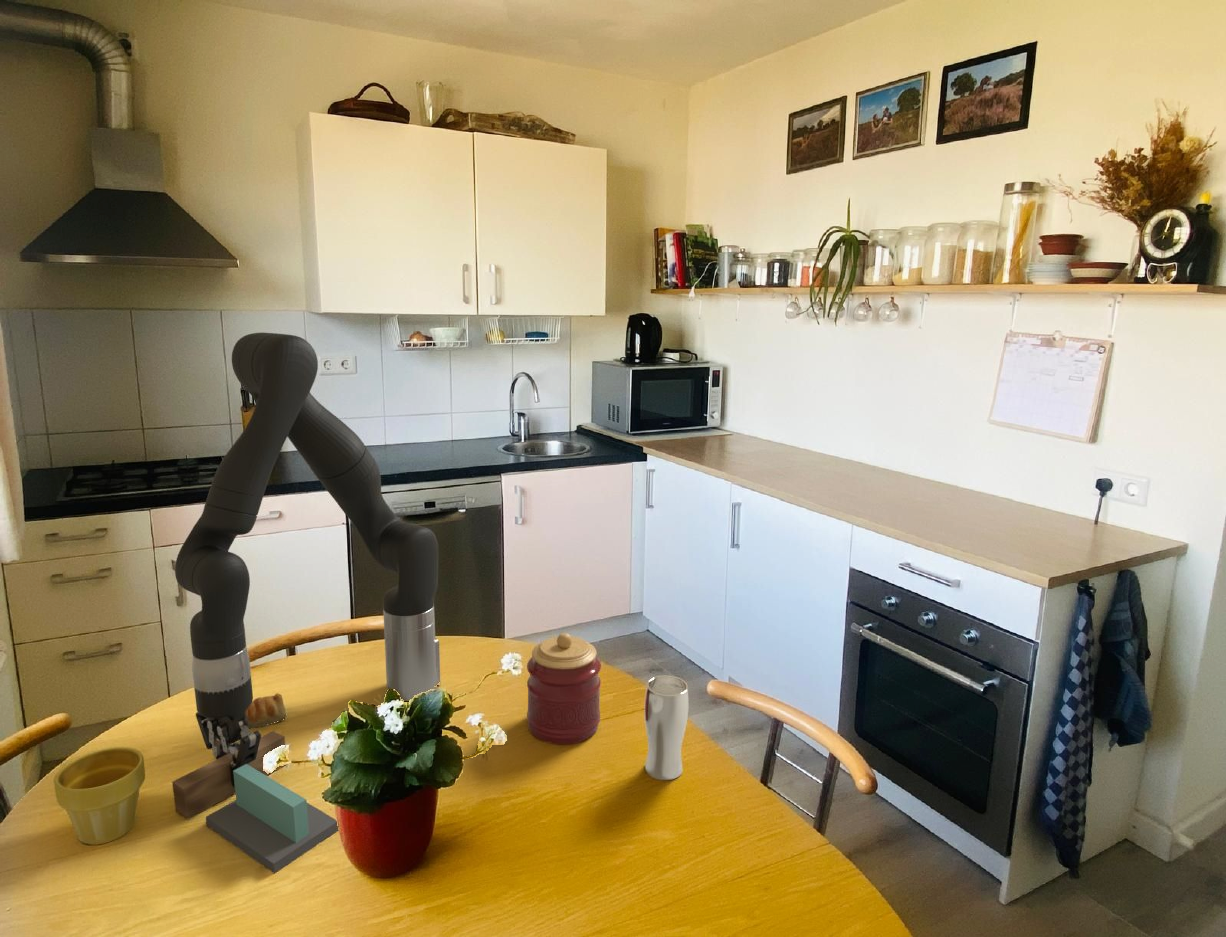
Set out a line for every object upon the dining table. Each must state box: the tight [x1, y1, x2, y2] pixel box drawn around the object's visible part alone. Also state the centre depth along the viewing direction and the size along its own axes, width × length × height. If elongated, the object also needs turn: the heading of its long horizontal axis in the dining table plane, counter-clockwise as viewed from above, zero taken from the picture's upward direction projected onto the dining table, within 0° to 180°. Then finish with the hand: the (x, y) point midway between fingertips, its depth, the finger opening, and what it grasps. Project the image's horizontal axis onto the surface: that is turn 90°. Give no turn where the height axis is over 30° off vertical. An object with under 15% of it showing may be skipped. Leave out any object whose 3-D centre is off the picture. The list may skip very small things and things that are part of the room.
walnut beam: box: [171, 730, 286, 821], centre depth 116 cm, size 16×3×5 cm, turn 147°
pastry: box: [245, 692, 287, 729], centre depth 134 cm, size 9×7×4 cm
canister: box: [526, 632, 602, 745], centre depth 133 cm, size 13×13×18 cm
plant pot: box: [53, 746, 146, 846], centre depth 106 cm, size 10×10×10 cm
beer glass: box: [644, 674, 689, 781], centre depth 122 cm, size 7×7×15 cm
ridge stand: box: [205, 764, 339, 874], centre depth 107 cm, size 10×16×7 cm, turn 57°
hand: (233, 779), depth 116 cm, fingers closed on walnut beam, 3 cm apart
